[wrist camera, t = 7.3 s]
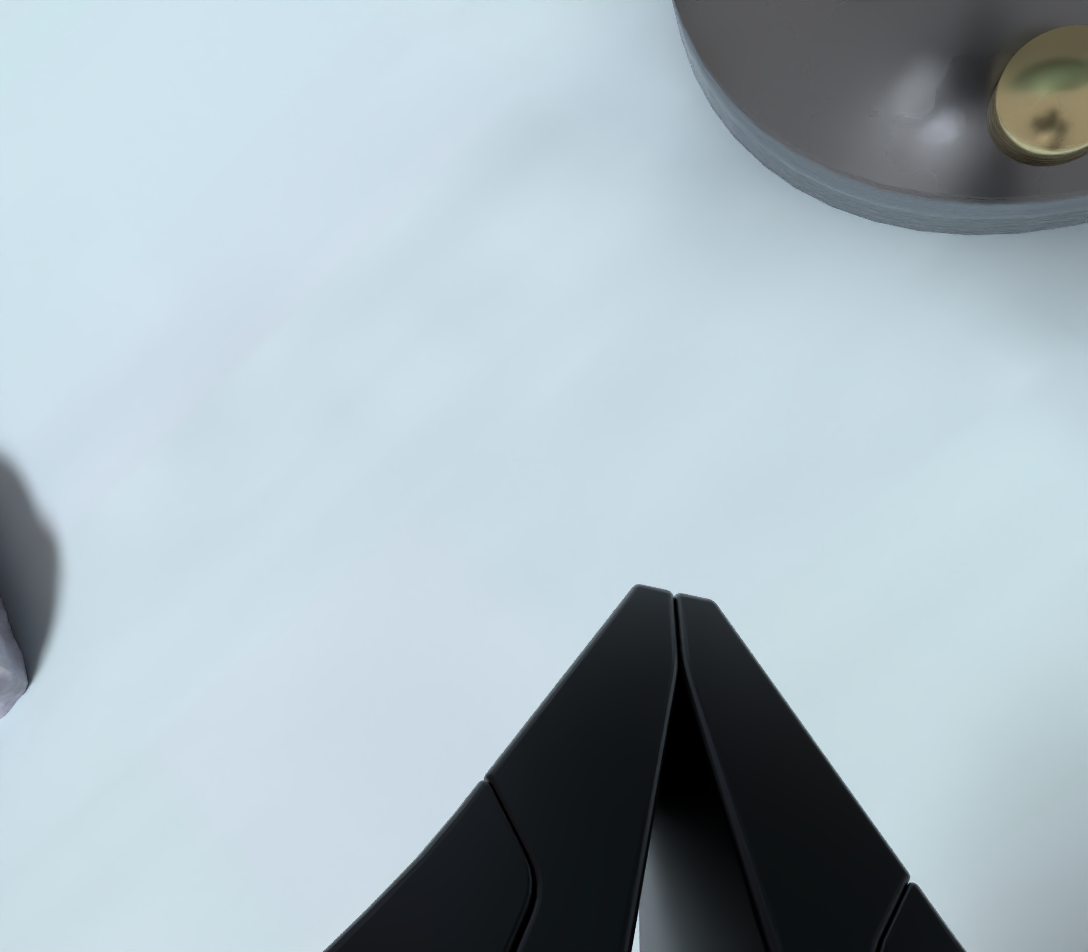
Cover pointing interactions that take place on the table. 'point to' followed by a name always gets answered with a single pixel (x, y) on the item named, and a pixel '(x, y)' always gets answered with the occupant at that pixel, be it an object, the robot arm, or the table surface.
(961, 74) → the dark grey disc
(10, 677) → the stone block
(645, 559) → the table surface
